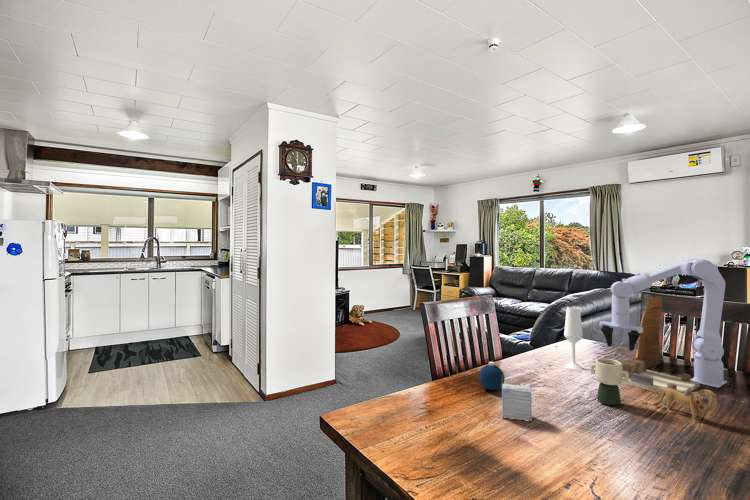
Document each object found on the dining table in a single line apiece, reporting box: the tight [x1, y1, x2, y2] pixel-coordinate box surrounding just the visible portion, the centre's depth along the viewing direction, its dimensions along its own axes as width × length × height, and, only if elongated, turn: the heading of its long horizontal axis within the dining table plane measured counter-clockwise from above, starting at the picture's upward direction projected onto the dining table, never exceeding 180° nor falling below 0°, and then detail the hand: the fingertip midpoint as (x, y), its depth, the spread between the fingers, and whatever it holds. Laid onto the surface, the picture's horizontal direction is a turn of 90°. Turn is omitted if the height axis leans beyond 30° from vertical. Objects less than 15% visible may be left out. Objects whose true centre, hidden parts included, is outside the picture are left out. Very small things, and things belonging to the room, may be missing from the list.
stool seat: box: [621, 369, 700, 395], centre depth 133 cm, size 18×22×4 cm
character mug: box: [589, 358, 629, 406], centre depth 116 cm, size 11×7×13 cm, turn 35°
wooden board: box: [621, 357, 647, 377], centre depth 138 cm, size 14×3×4 cm, turn 123°
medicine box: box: [501, 383, 533, 422], centre depth 107 cm, size 8×4×9 cm, turn 71°
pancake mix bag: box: [635, 295, 664, 369], centre depth 152 cm, size 7×19×28 cm, turn 122°
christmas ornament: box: [478, 360, 505, 391], centre depth 128 cm, size 8×8×10 cm
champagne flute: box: [563, 306, 584, 371], centre depth 151 cm, size 7×7×24 cm
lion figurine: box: [653, 388, 718, 423], centre depth 107 cm, size 15×5×9 cm, turn 34°
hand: (620, 348), depth 144 cm, fingers open, 7 cm apart
